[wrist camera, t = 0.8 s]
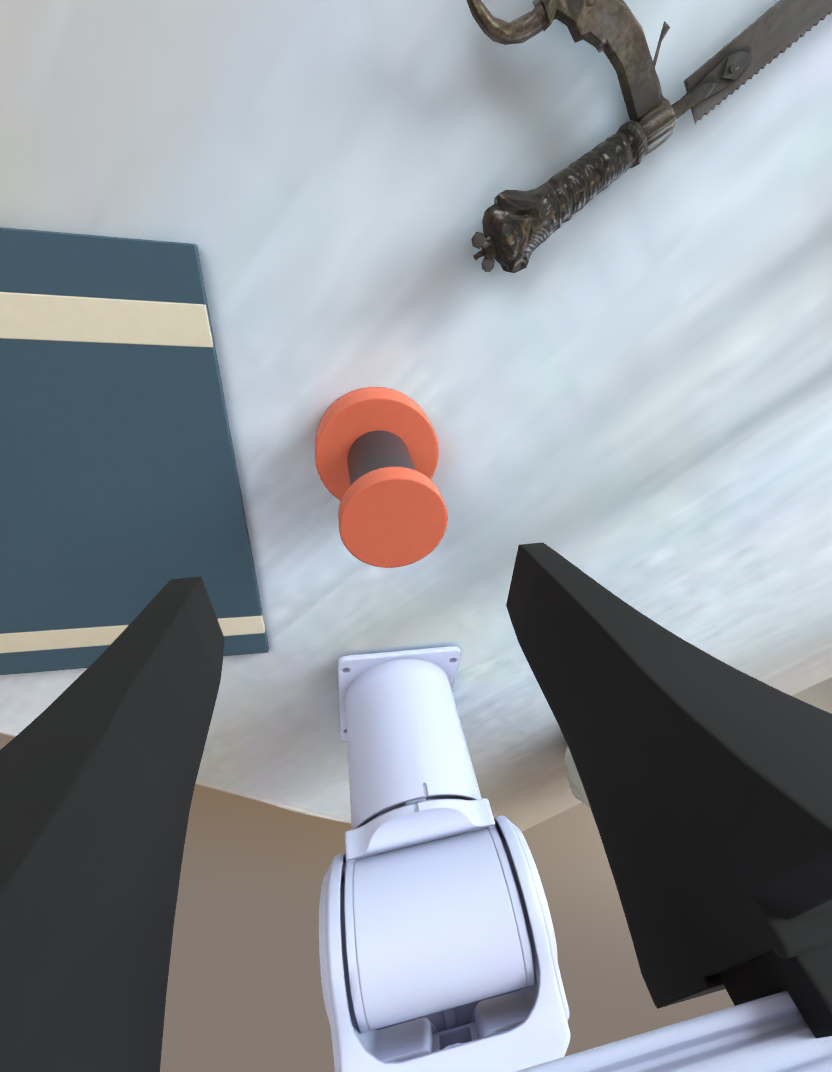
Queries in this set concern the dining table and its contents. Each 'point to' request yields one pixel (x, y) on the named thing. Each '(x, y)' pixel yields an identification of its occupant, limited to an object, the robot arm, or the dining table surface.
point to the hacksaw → (609, 25)
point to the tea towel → (111, 448)
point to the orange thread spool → (382, 476)
